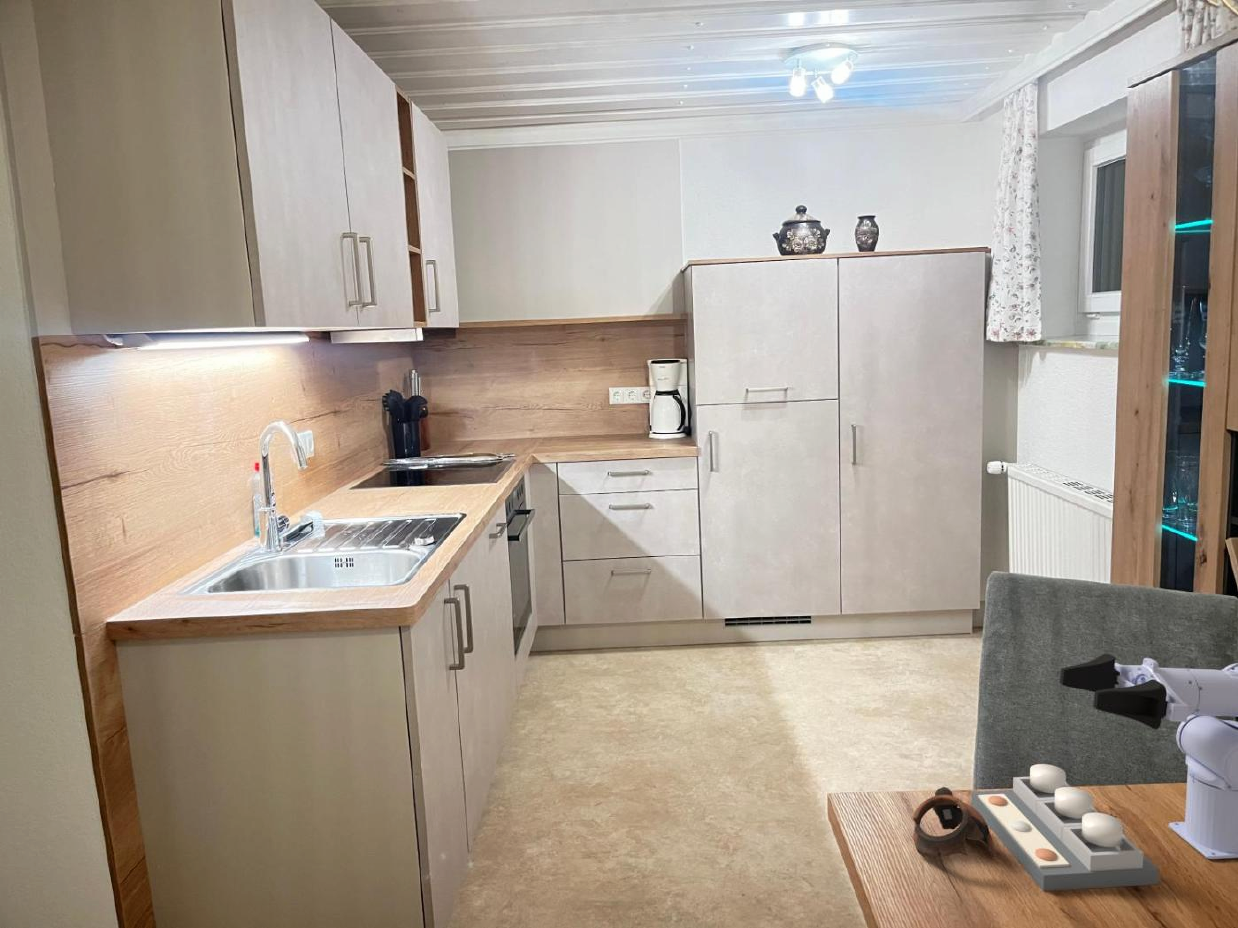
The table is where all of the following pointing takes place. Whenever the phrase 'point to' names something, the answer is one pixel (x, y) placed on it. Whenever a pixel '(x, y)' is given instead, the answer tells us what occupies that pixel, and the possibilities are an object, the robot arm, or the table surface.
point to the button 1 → (1047, 777)
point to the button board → (1058, 842)
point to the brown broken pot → (950, 826)
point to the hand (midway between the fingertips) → (1078, 687)
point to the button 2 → (1102, 829)
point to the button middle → (1073, 802)
